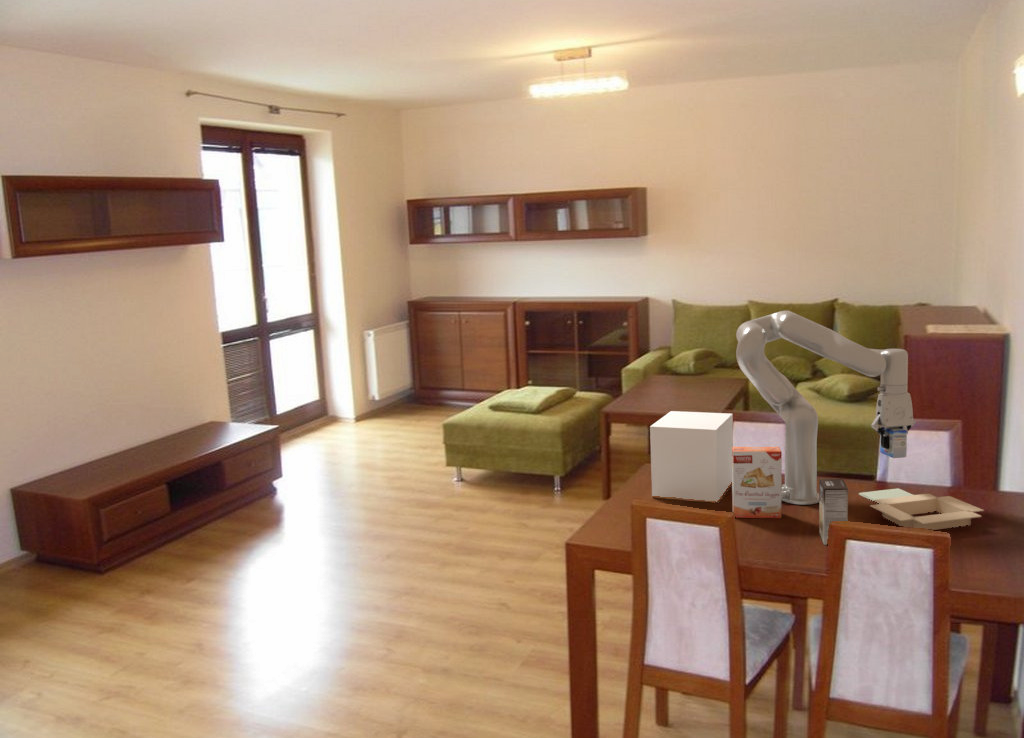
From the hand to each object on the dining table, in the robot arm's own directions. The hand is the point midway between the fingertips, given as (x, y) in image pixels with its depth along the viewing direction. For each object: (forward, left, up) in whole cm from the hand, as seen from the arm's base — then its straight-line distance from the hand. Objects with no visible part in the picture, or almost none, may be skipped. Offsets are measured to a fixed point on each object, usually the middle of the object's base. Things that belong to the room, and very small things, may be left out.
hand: (893, 446), depth 259 cm
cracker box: (-46, -1, -17) cm, 49 cm away
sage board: (0, 0, -17) cm, 17 cm away
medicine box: (0, 0, -3) cm, 3 cm away
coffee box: (-36, -26, -17) cm, 48 cm away
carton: (-4, -21, -17) cm, 27 cm away
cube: (-53, +30, -17) cm, 64 cm away
